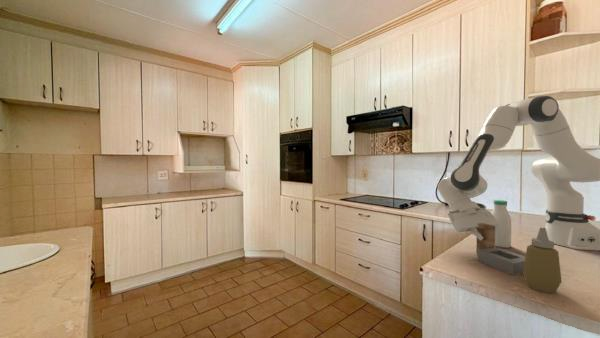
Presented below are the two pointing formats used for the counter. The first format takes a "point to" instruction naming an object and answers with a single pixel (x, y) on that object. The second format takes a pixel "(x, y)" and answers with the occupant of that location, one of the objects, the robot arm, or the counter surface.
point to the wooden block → (486, 236)
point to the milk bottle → (502, 224)
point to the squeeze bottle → (542, 264)
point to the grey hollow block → (502, 260)
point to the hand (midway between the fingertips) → (487, 239)
